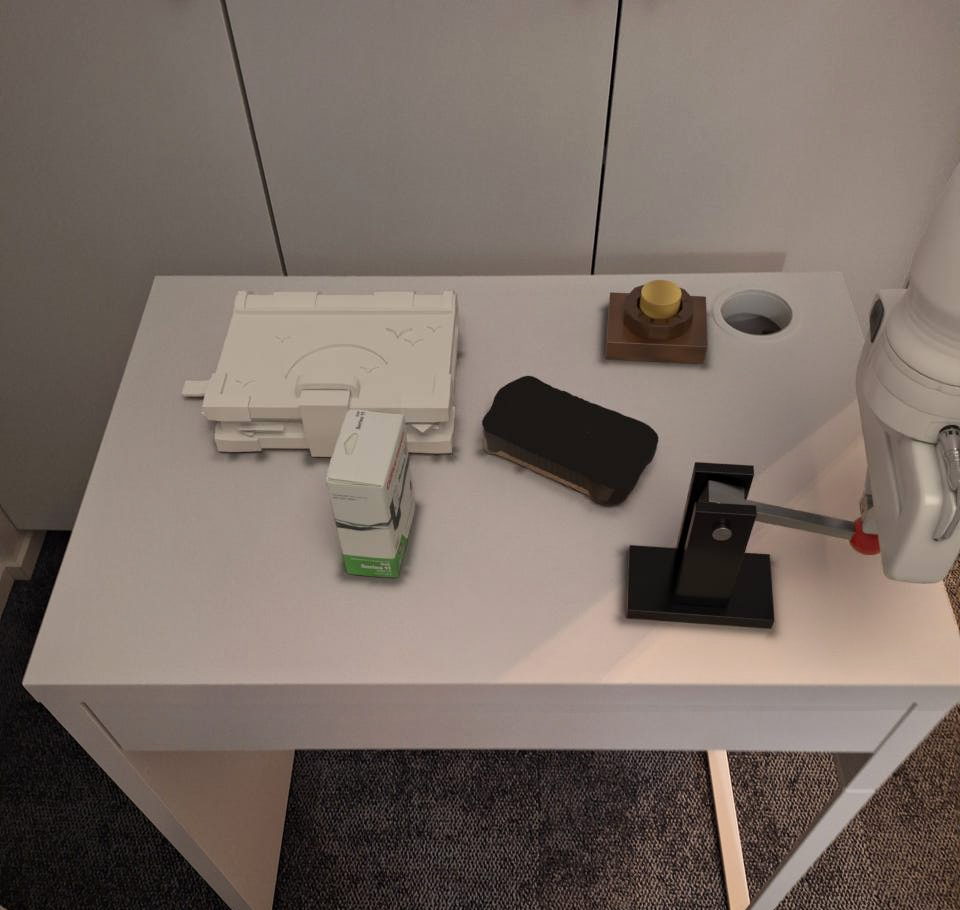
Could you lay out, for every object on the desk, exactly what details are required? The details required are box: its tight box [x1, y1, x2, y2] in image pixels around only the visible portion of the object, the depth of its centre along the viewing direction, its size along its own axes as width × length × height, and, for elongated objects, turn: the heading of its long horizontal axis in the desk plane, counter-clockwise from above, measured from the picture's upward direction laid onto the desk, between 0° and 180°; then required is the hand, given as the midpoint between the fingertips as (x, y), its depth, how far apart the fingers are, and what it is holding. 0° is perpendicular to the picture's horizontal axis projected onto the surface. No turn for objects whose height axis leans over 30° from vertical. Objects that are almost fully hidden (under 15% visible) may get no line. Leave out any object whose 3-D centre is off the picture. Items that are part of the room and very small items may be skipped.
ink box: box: [325, 407, 416, 579], centre depth 80 cm, size 9×5×12 cm, turn 171°
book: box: [181, 289, 460, 458], centre depth 93 cm, size 19×28×8 cm
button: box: [640, 279, 682, 319], centre depth 95 cm, size 4×4×2 cm
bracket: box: [625, 461, 776, 630], centre depth 76 cm, size 12×7×13 cm, turn 84°
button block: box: [605, 284, 708, 365], centre depth 97 cm, size 10×8×4 cm
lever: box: [698, 480, 881, 557], centre depth 72 cm, size 15×3×3 cm, turn 83°
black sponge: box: [481, 375, 660, 507], centre depth 89 cm, size 16×8×4 cm, turn 56°
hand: (871, 519), depth 72 cm, fingers closed
